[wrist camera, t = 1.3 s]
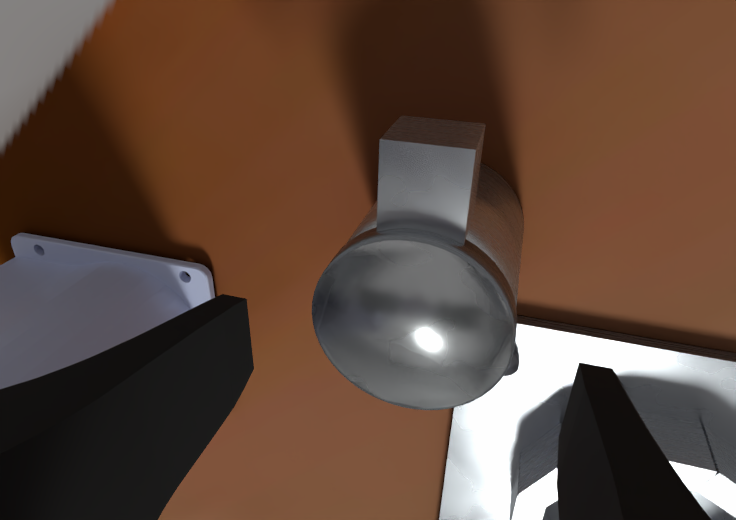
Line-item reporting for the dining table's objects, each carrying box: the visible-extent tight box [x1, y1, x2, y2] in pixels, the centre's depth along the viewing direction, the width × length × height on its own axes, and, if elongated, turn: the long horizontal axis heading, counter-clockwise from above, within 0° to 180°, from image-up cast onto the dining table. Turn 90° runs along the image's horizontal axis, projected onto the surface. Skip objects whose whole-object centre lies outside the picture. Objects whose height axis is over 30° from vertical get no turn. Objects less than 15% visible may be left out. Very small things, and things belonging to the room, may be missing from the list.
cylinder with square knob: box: [312, 115, 524, 410], centre depth 15 cm, size 5×7×6 cm
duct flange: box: [439, 315, 736, 520], centre depth 20 cm, size 14×14×2 cm
